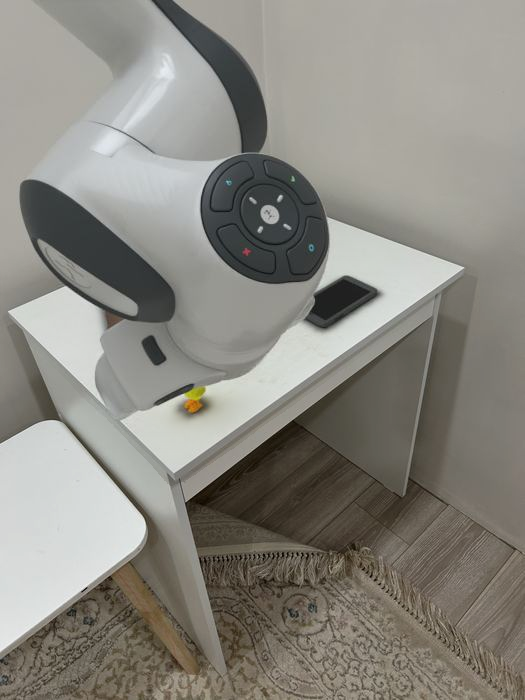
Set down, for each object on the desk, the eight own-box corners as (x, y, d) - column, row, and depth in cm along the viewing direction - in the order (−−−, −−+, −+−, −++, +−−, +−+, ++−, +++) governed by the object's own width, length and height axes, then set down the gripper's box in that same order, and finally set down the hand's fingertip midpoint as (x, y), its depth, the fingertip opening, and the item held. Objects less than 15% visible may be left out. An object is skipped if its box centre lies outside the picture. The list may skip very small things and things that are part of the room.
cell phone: (379, 293, 92) (379, 289, 92) (323, 329, 85) (323, 325, 85) (346, 277, 97) (346, 273, 96) (290, 310, 90) (290, 307, 89)
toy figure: (178, 426, 71) (162, 356, 64) (164, 412, 73) (147, 342, 66) (220, 402, 74) (209, 332, 67) (205, 388, 77) (193, 319, 69)
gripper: (307, 234, 46) (268, 296, 59) (78, 344, 39) (91, 386, 52) (347, 297, 45) (299, 346, 58) (121, 420, 38) (123, 444, 51)
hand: (199, 366), depth 55 cm, fingers open, 8 cm apart
